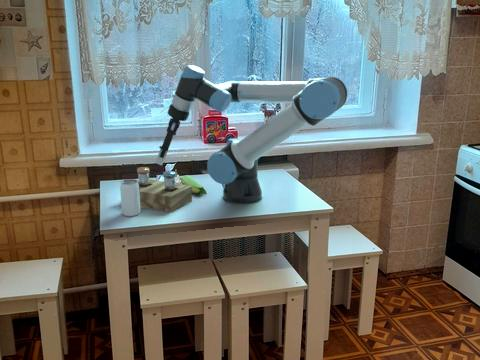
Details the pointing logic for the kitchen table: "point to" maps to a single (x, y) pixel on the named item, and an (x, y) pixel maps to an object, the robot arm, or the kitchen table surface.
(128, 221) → the kitchen table surface
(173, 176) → the salt shaker
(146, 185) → the copper lidded jar
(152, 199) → the oak block
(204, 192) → the edible corn
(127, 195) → the can
